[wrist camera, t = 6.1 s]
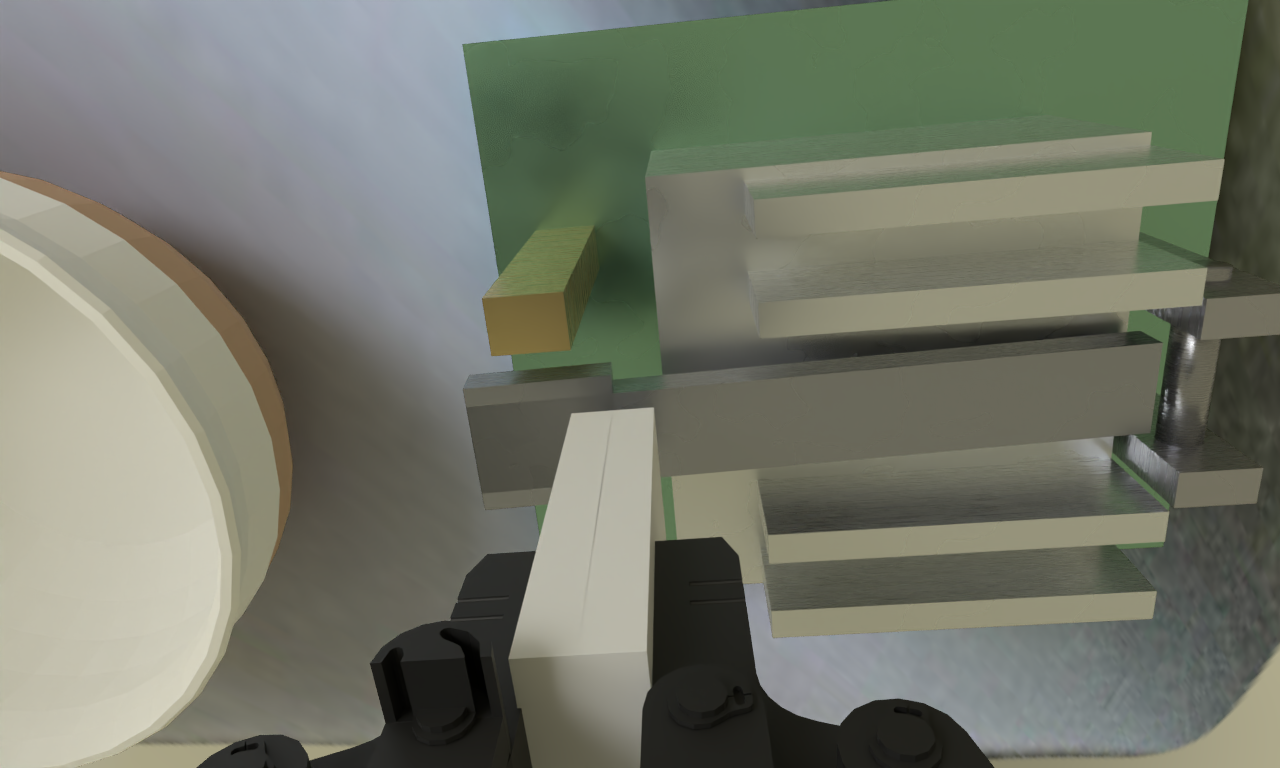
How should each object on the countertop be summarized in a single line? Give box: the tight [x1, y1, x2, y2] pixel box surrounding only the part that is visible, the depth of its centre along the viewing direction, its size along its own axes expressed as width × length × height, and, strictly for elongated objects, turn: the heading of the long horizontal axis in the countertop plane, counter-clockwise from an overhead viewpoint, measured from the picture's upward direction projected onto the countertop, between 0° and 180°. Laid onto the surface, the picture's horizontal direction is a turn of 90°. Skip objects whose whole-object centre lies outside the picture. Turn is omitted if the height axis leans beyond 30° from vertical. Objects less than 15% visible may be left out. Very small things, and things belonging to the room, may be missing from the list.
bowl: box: [0, 171, 293, 768], centre depth 23 cm, size 16×16×8 cm
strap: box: [463, 331, 1163, 510], centre depth 18 cm, size 14×3×1 cm, turn 95°
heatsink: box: [462, 0, 1280, 638], centre depth 20 cm, size 19×16×9 cm
